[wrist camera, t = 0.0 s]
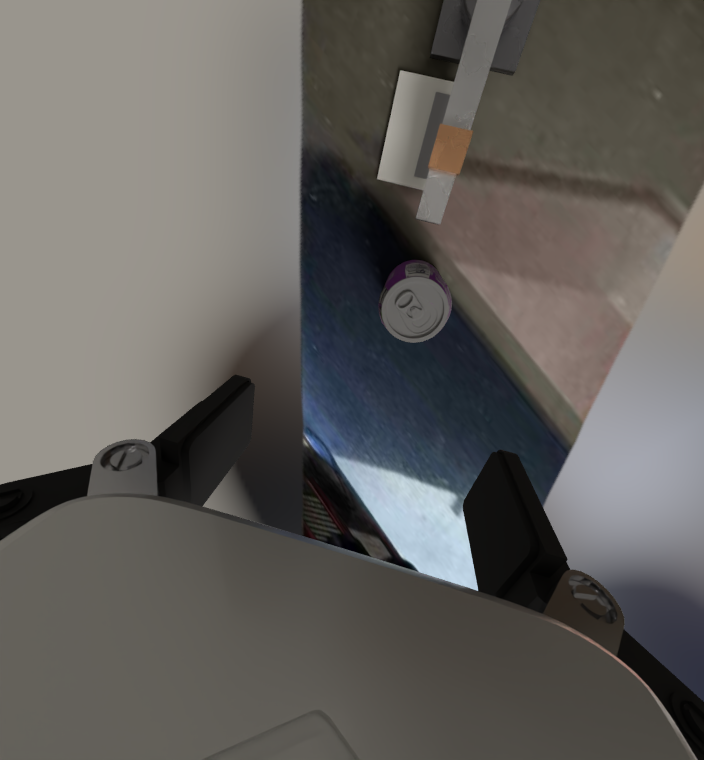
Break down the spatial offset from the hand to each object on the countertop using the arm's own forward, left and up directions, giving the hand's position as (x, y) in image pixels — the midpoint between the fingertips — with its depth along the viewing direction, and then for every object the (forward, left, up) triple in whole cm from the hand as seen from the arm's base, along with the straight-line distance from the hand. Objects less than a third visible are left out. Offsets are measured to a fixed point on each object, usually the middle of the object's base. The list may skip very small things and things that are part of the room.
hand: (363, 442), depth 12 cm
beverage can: (-1, +2, -31) cm, 31 cm away
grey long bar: (-18, +1, -27) cm, 33 cm away
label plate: (-16, -2, -31) cm, 35 cm away
